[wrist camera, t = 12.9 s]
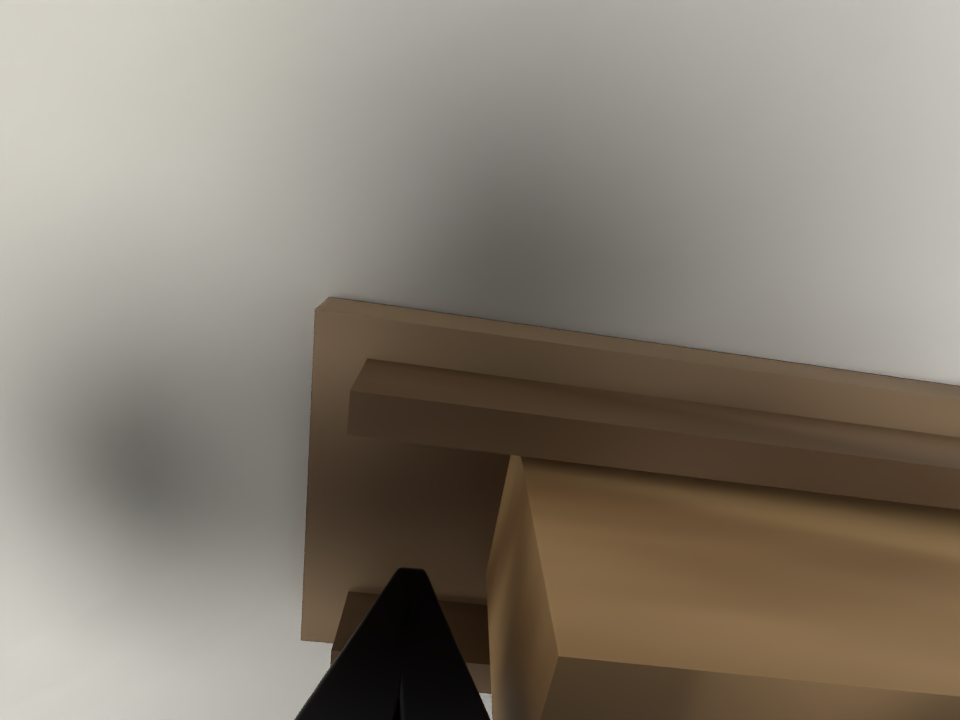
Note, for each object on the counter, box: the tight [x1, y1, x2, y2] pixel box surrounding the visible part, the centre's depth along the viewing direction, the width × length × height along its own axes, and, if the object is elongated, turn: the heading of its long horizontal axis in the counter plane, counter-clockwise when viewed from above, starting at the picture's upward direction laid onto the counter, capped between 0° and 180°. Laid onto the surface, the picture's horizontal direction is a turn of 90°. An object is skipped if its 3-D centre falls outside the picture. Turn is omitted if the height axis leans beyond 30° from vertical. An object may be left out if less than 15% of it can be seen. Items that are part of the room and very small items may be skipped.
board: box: [301, 297, 960, 694], centre depth 11 cm, size 8×20×2 cm, turn 81°
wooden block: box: [486, 455, 960, 720], centre depth 9 cm, size 4×14×5 cm, turn 81°
